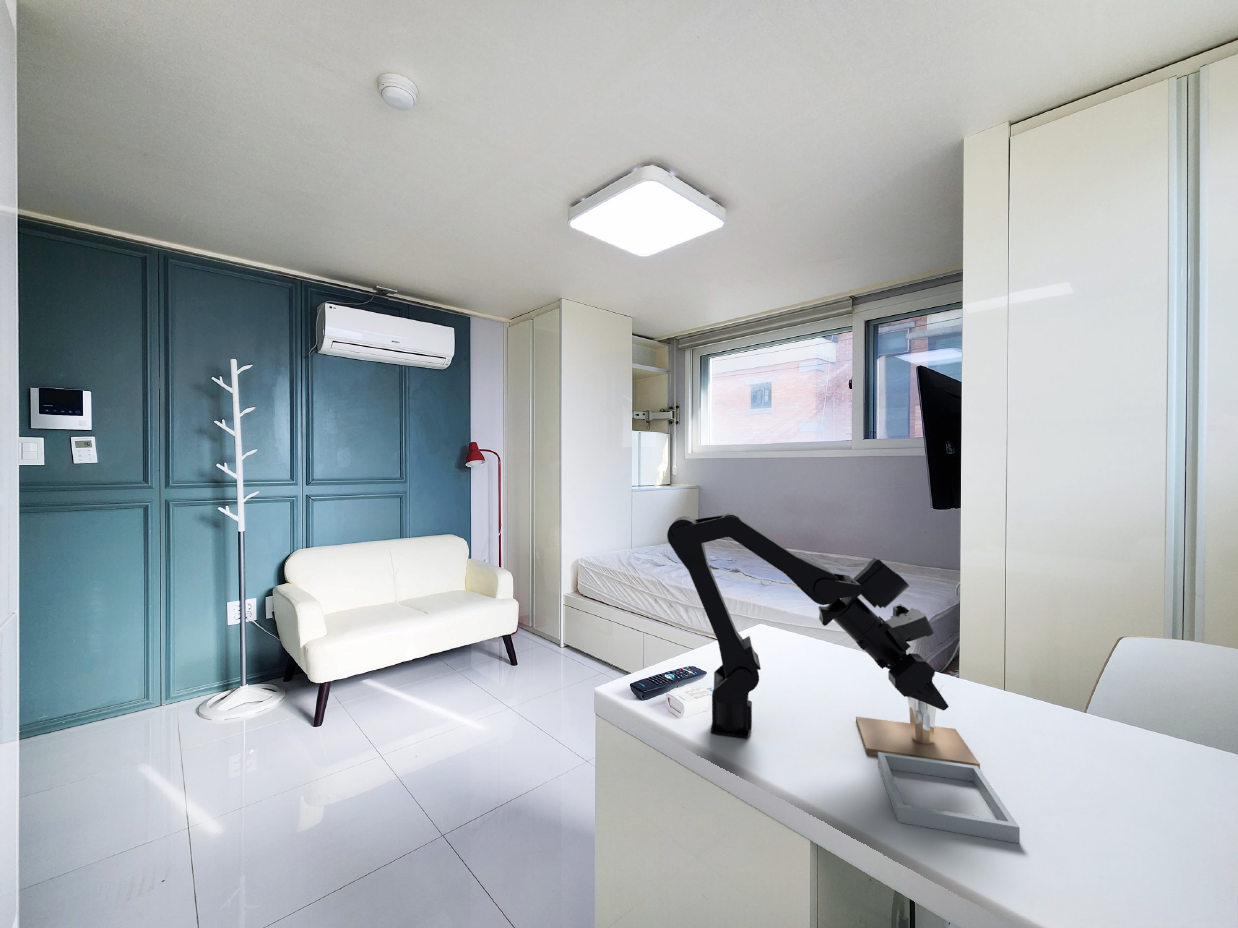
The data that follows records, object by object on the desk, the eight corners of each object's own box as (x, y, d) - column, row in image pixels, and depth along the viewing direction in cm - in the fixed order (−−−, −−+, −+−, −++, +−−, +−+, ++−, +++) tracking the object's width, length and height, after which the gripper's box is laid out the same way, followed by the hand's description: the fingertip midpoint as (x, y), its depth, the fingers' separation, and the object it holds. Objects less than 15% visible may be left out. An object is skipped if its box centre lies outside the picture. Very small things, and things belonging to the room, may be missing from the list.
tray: (898, 821, 68) (898, 806, 68) (877, 764, 81) (877, 751, 81) (1019, 843, 64) (1019, 827, 64) (977, 779, 77) (977, 765, 77)
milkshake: (939, 751, 82) (938, 689, 83) (902, 738, 86) (902, 679, 86) (947, 741, 86) (946, 681, 86) (911, 729, 89) (911, 672, 90)
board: (866, 754, 84) (866, 747, 84) (855, 721, 94) (855, 716, 94) (979, 770, 79) (979, 763, 79) (955, 734, 90) (955, 728, 90)
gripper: (919, 609, 78) (1002, 687, 76) (882, 582, 96) (948, 644, 94) (864, 657, 79) (943, 735, 77) (838, 621, 98) (901, 684, 95)
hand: (934, 695), depth 86 cm, fingers open, 9 cm apart
